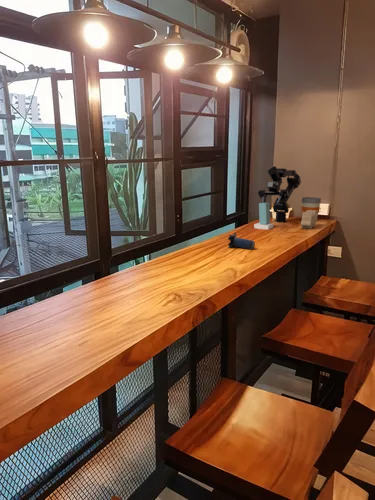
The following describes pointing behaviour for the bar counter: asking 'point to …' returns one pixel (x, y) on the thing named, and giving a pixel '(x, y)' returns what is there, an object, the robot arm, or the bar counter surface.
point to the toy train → (309, 219)
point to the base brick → (263, 226)
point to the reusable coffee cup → (311, 204)
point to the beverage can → (240, 242)
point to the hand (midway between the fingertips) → (270, 204)
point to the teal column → (264, 213)
